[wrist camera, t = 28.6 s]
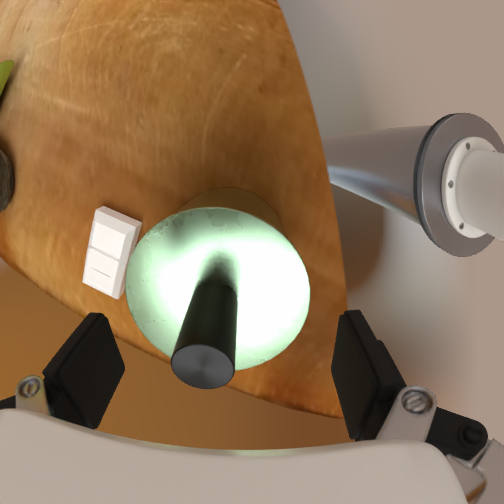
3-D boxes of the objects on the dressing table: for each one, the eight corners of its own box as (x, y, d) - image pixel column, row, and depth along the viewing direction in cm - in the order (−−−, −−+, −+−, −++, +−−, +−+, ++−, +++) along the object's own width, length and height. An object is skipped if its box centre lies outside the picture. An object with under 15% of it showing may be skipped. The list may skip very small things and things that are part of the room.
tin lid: (310, 201, 17) (352, 236, 10) (301, 358, 21) (317, 431, 14) (117, 210, 16) (53, 247, 10) (150, 358, 21) (124, 426, 14)
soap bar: (89, 275, 29) (78, 285, 27) (103, 206, 27) (91, 211, 24) (123, 292, 30) (115, 303, 28) (142, 222, 27) (133, 229, 25)
